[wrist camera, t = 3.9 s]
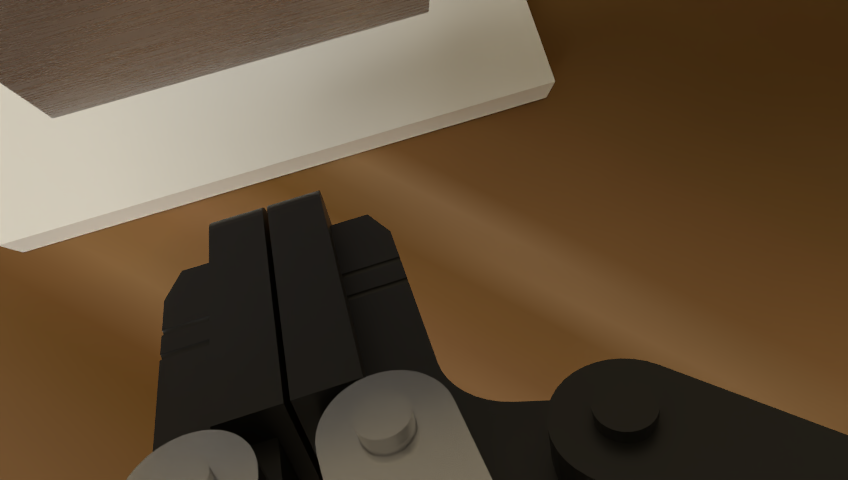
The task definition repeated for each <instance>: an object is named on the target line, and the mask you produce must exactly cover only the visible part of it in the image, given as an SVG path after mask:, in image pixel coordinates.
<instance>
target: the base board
mask: <svg viewBox="0 0 848 480" xmlns="http://www.w3.org/2000/svg"><path fill="white" fill-rule="evenodd" d="M554 83H555V79H554V76H553V74H552V71H551V68H550V65H549V62H548V60H547V57H546V54H545V51H544V48H543V46H542V43H541V40H540V37H539V34H538V32H537V29H536V26H535V23H534V20H533V17H532V15H531V12H530V9H529V6H528V3H527V1H526V0H430V1H429V12H427V13H424V14H420V15H417V16H413V17H410V18H406V19H403V20H399V21H395V22H392V23H388V24H385V25H381V26H378V27H374V28H371V29H367V30H364V31H360V32H357V33H353V34H350V35H346V36H343V37H339V38H335V39H332V40H328V41H325V42H321V43H318V44H314V45H311V46H307V47H304V48H300V49H297V50H293V51H290V52H286V53H282V54H279V55H275V56H272V57H268V58H265V59H261V60H258V61H254V62H251V63H247V64H244V65H240V66H237V67H233V68H230V69H226V70H222V71H219V72H215V73H212V74H208V75H205V76H201V77H198V78H194V79H191V80H187V81H184V82H180V83H177V84H173V85H169V86H166V87H162V88H159V89H155V90H152V91H148V92H145V93H141V94H138V95H134V96H131V97H127V98H124V99H120V100H117V101H113V102H109V103H106V104H102V105H99V106H95V107H92V108H88V109H85V110H81V111H78V112H74V113H71V114H67V115H64V116H60V117H56V118H51V117H50V116H48V115H47V114H45V113H44V112H42V111H41V110H39V109H38V108H36V107H35V106H33V105H32V104H30V103H29V102H28V101H26V100H25V99H23V98H22V97H20V96H19V95H17V94H16V93H14V92H13V91H11V90H10V89H8V88H7V87H5V86H4V85H2V84H1V83H0V246H2V247H6V248H9V249H13V250H16V251H20V252H26V251H29V250H33V249H36V248H40V247H43V246H46V245H50V244H53V243H56V242H60V241H63V240H67V239H70V238H73V237H77V236H80V235H84V234H87V233H90V232H94V231H97V230H100V229H104V228H107V227H111V226H114V225H117V224H121V223H124V222H127V221H131V220H134V219H138V218H141V217H144V216H148V215H151V214H154V213H158V212H161V211H165V210H168V209H171V208H175V207H178V206H182V205H185V204H188V203H192V202H195V201H198V200H202V199H205V198H209V197H212V196H215V195H219V194H222V193H225V192H229V191H232V190H236V189H239V188H242V187H246V186H249V185H252V184H256V183H259V182H263V181H266V180H269V179H273V178H276V177H280V176H283V175H286V174H290V173H293V172H296V171H300V170H303V169H307V168H310V167H313V166H317V165H320V164H323V163H327V162H330V161H334V160H337V159H340V158H344V157H347V156H351V155H354V154H357V153H361V152H364V151H367V150H371V149H374V148H378V147H381V146H384V145H388V144H391V143H394V142H398V141H401V140H405V139H408V138H411V137H415V136H418V135H421V134H425V133H428V132H432V131H435V130H438V129H442V128H445V127H449V126H452V125H455V124H459V123H462V122H465V121H469V120H472V119H476V118H479V117H482V116H486V115H489V114H492V113H496V112H499V111H503V110H506V109H509V108H513V107H516V106H519V105H523V104H526V103H530V102H533V101H536V100H540V99H543V98H546V97H547V95H548V94H549V92H550V90H551V88H552V86H553V85H554Z"/></svg>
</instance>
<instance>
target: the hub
mask: <svg viewBox="0 0 848 480" xmlns="http://www.w3.org/2000/svg"><path fill="white" fill-rule="evenodd" d="M429 1H430V0H0V83H1V84H2V85H4V86H5V87H7V88H8V89H10V90H11V91H13V92H14V93H16V94H17V95H19V96H20V97H22V98H23V99H25V100H26V101H28V102H29V103H30V104H32V105H33V106H35V107H36V108H38V109H39V110H41V111H42V112H44V113H45V114H47V115H48V116H50V117H51V118H56V117H60V116H64V115H67V114H71V113H74V112H78V111H81V110H85V109H88V108H92V107H95V106H99V105H102V104H106V103H109V102H113V101H117V100H120V99H124V98H127V97H131V96H134V95H138V94H141V93H145V92H148V91H152V90H155V89H159V88H162V87H166V86H169V85H173V84H177V83H180V82H184V81H187V80H191V79H194V78H198V77H201V76H205V75H208V74H212V73H215V72H219V71H222V70H226V69H230V68H233V67H237V66H240V65H244V64H247V63H251V62H254V61H258V60H261V59H265V58H268V57H272V56H275V55H279V54H282V53H286V52H290V51H293V50H297V49H300V48H304V47H307V46H311V45H314V44H318V43H321V42H325V41H328V40H332V39H335V38H339V37H343V36H346V35H350V34H353V33H357V32H360V31H364V30H367V29H371V28H374V27H378V26H381V25H385V24H388V23H392V22H395V21H399V20H403V19H406V18H410V17H413V16H417V15H420V14H424V13H427V12H429Z"/></svg>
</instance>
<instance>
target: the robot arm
mask: <svg viewBox="0 0 848 480" xmlns="http://www.w3.org/2000/svg"><path fill="white" fill-rule="evenodd" d="M162 331H163V334H164V335H163V336H162V339H161V352H160V355H161V357H162V360H160V365H159V378H158V391H157V405H156V418H155V431H154V444H153V452H152V453H151V454H150V455H149V456H147V457H146V458H145V459H144V460H143V461H142V462H141V463H140V464H139V465H138V466H137V467H136V468H135V469H134V471H133V472H132V473H131V474H130V475H129V477H128V478H127V480H848V435H846V434H843V433H840V432H838V431H835V430H832V429H829V428H827V427H824V426H821V425H819V424H816V423H813V422H811V421H808V420H805V419H803V418H800V417H797V416H795V415H792V414H789V413H787V412H784V411H781V410H779V409H776V408H773V407H771V406H768V405H765V404H762V403H760V402H757V401H754V400H752V399H749V398H746V397H744V396H741V395H738V394H736V393H733V392H730V391H728V390H725V389H722V388H720V387H717V386H714V385H712V384H709V383H706V382H703V381H701V380H698V379H695V378H693V377H690V376H687V375H685V374H682V373H679V372H677V371H674V370H671V369H669V368H666V367H663V366H661V365H658V364H654V363H651V362H648V361H642V360H636V359H610V360H604V361H600V362H595V363H593V364H590V365H587V366H585V367H583V368H581V369H579V370H577V371H575V372H574V373H572V374H571V375H570V376H568V377H567V378H566V379H565V380H564V381H563V382H562V383H561V384H560V385H559V386H558V387H557V389H556V390H555V392H554V394H553V395H552V397H551V400H550V401H526V402H499V401H492V400H486V399H483V398H479V397H476V396H473V395H471V394H469V393H467V392H464V391H463V390H461V389H460V388H458V387H457V386H455V385H454V384H453V383H452V382H451V381H449V380H448V379H447V377H446V376H445V375H444V374H443V372H442V371H441V369H440V367H439V365H438V363H437V360H436V357H435V355H434V352H433V349H432V346H431V343H430V341H429V338H428V335H427V332H426V329H425V327H424V324H423V321H422V318H421V316H420V313H419V310H418V307H417V304H416V302H415V299H414V296H413V293H412V291H411V288H410V285H409V283H408V280H407V277H406V274H405V271H404V268H403V265H402V263H401V260H400V257H399V254H398V252H397V249H396V246H395V243H394V240H393V238H392V235H391V232H390V231H389V230H388V229H386V228H385V227H384V226H382V225H381V224H380V223H378V222H377V221H376V220H374V219H373V218H372V217H370V216H369V215H364V216H361V217H358V218H354V219H351V220H348V221H345V222H341V223H338V224H335V225H332V224H331V221H330V218H329V215H328V212H327V209H326V206H325V203H324V201H323V198H322V195H321V193H320V191H316V192H313V193H310V194H306V195H303V196H300V197H296V198H293V199H290V200H286V201H283V202H280V203H276V204H273V205H270V206H268V207H267V211H266V210H265V208H260V209H257V210H254V211H250V212H247V213H244V214H240V215H237V216H234V217H230V218H227V219H224V220H220V221H217V222H214V223H211V224H210V226H209V263H207V264H204V265H200V266H197V267H194V268H190V269H187V270H184V271H182V272H181V273H180V275H179V277H178V279H177V280H176V282H175V284H174V285H173V287H172V289H171V290H170V292H169V294H168V296H167V297H166V299H165V301H164V312H163V326H162Z"/></svg>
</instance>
